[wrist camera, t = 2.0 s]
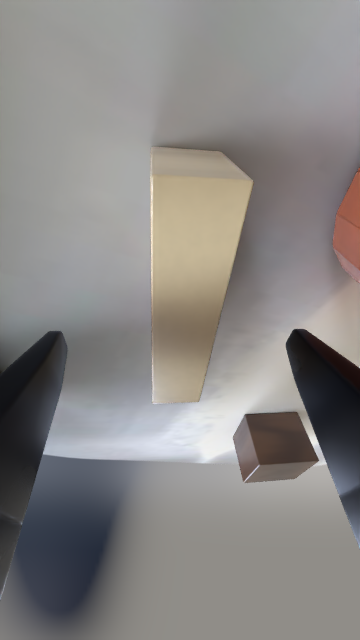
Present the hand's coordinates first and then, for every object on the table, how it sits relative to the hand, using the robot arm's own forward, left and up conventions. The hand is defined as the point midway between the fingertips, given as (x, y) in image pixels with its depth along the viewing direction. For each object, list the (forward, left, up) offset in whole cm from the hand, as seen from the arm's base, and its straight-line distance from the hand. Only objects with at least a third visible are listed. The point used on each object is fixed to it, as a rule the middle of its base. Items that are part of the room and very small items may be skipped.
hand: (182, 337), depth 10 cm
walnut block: (+11, -18, -4) cm, 22 cm away
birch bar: (0, 0, -4) cm, 4 cm away
